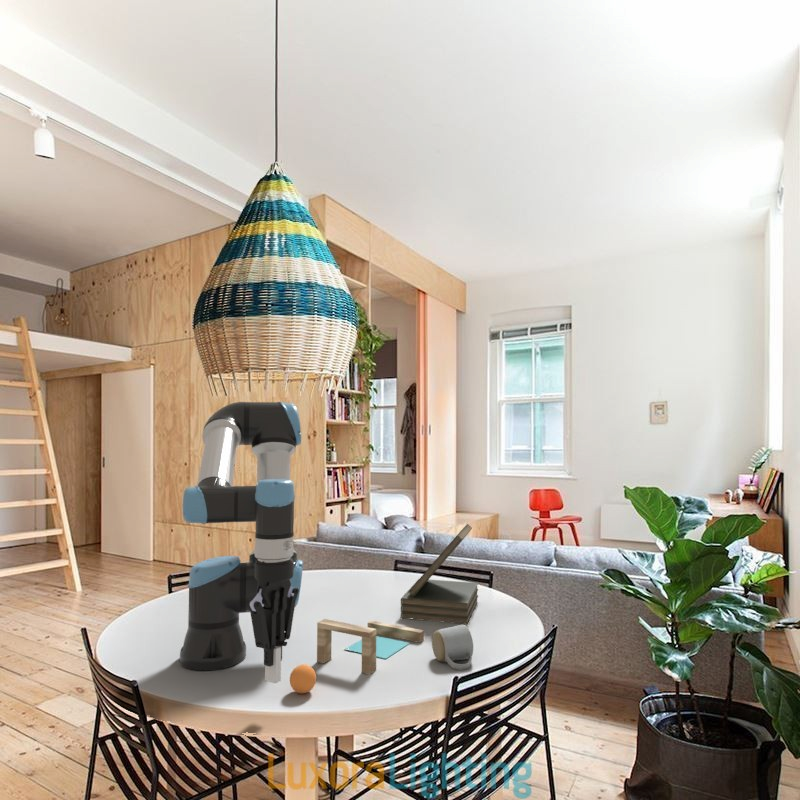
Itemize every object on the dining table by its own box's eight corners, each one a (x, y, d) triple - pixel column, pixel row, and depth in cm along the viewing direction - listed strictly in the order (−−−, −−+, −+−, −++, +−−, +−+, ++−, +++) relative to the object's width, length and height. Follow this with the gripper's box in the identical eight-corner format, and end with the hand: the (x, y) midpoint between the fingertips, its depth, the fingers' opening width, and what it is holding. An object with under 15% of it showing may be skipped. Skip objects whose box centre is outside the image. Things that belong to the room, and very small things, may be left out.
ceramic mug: (429, 655, 148) (430, 624, 148) (460, 651, 151) (460, 620, 151) (448, 673, 138) (448, 639, 138) (480, 668, 141) (480, 634, 141)
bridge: (369, 674, 137) (369, 632, 137) (316, 662, 144) (317, 622, 144) (376, 669, 139) (376, 629, 140) (324, 657, 146) (324, 618, 147)
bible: (418, 598, 198) (418, 520, 199) (478, 602, 193) (478, 523, 194) (400, 619, 176) (400, 532, 177) (467, 625, 171) (467, 536, 172)
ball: (284, 694, 126) (284, 667, 127) (300, 684, 131) (301, 658, 131) (305, 700, 124) (305, 672, 124) (321, 690, 128) (321, 663, 129)
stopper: (367, 632, 164) (367, 622, 165) (371, 629, 166) (371, 620, 166) (420, 642, 157) (420, 632, 157) (423, 640, 158) (423, 630, 159)
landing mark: (344, 650, 151) (344, 649, 151) (369, 635, 162) (369, 634, 162) (385, 659, 145) (385, 658, 145) (409, 643, 156) (409, 642, 156)
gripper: (266, 566, 113) (264, 697, 112) (309, 554, 124) (308, 673, 123) (236, 562, 116) (234, 689, 115) (281, 551, 128) (279, 666, 127)
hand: (272, 680), depth 119 cm, fingers closed
